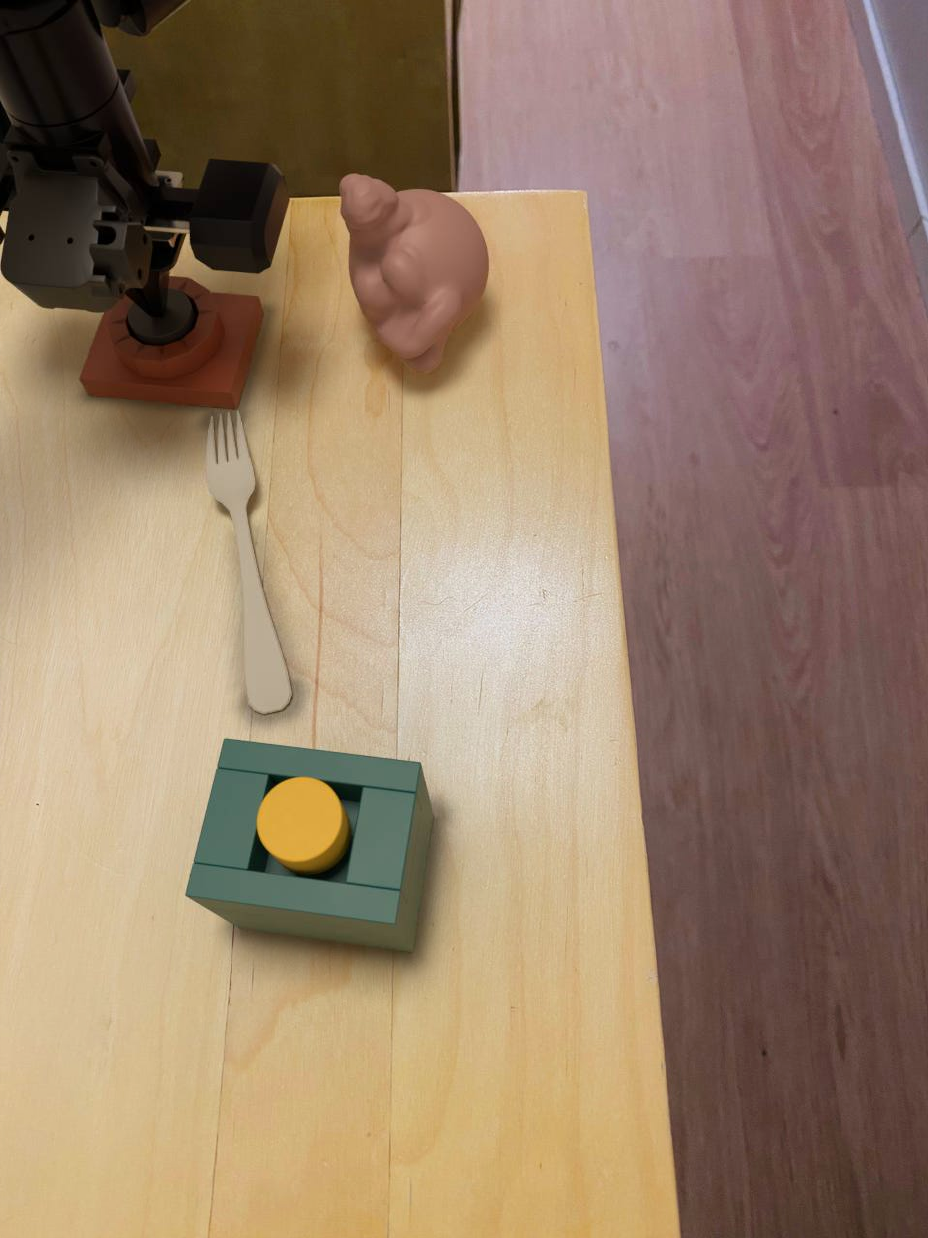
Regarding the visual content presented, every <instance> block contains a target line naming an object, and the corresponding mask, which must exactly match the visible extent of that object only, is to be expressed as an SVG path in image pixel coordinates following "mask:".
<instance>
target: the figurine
mask: <svg viewBox="0 0 928 1238" xmlns="http://www.w3.org/2000/svg"><path fill="white" fill-rule="evenodd" d="M338 193H339V197H340V200H341V201H340V210H339V212H340V213H339V214H340V216H341V218H342V219H343V221H344V224H345V227H346V230H347V232H348V233H349V240H348V251H349V252H348V274H349V280H350V283H351V287H352V289H353V293H354V296H355V298H356V301H357V303H358V305H359V308H360V310H361V313H362V315H363V317H364V319H365V320H366V321H367V324H369V326H370V327H371V329H372V331H373V332H374V334H375V335H376V337H377V338H378V340H379V341H380V342H381V343H382V344H383V345H384V346H385V347H387V349H388V350H390V351H391V352H392V353H393V354H395V355H397V356H398V358H399V359H400V360H401V361H402V363H403V364H404V365H406V367H407V368H408V369H409V370H410V371H412V372H413V373H415V374H427V373H431V372H432V371H435V370H437V368H439V366H440V365H441V363H442V360H443V357H444V349H445V346H446V344H447V341H448V339H449V337H450V334H451V333H453V332H454V331H456V330H457V329H458V328H459V327H460V326H461V325H462V324H463V323H464V322H465V321H467V320H468V318H469V317H470V316H471V315H472V314H473V312H474V311H475V309H476V308H477V307H478V305H479V304H480V303H481V300H482V298H483V295H484V293H485V291H486V288H487V284H488V279H489V272H490V258H489V250H488V245H487V242H486V239H485V236H484V233H483V231H482V229H481V227H480V226H479V224H478V222H477V220H476V218H474V216H473V215H472V214H471V212H470V211H468V209H466V208H465V206H463V205H462V204H461V203H459V202H458V201H457V200H456V199H454V198H453V197H452V196H451V197H450V196H448V195H447V194H444V193H442V192H439V191H436V190H432V189H425V188H410V189H404V190H400V191H397V192H396V190H395V189H394V187H392V186H391V185H389V184H388V183H386V182H384V180H383V181H382V180H381V179H379V178H372V177H371V176H369V175H366V174H359V173H350V174H347V175H345V176H344V177H343V178H341V180H340V182H339V187H338Z"/></svg>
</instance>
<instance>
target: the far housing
mask: <svg viewBox="0 0 928 1238" xmlns="http://www.w3.org/2000/svg"><path fill="white" fill-rule="evenodd" d="M168 288H172V289H176V290H178V291H180V292H182V293H183V294H185V295H186V296H187V297H188V299H189V300H190V303H191V305H192V308H193V310H194V313H195V315H196V318H197V321H196V324H195V327H194V329H193V330H192V331H190V332H189V333H188V334H187V335H186V336H185V337H184V338H183V339H182V340H179V341H176V342H173V343H170V344H167V345H164V346H153V345H143V344H142V343H140V342H139V341H138V340H137V338H136V336H135V334H134V332H133V330H132V328H131V326H130V323H129V320H128V312H129V309H130V307H131V305H132V303H133V301H132V300H131V299H130V298H129V297H127V296H126V295H124V298H123V299H122V300H119V299H118V301H117V303H116V305H115V306H114V307H113V308H112V309H111V310H109V311H107V312H103V313H102V316H101V318H100V322H99V324H98V326H97V329H96V332H95V335H94V337H93V340H92V342H91V345H90V347H89V351H88V353H87V356H86V358H85V361H84V364H83V366H82V369H81V372H80V374H79V378H78V380H79V381H80V383H81V385H82V387H83V388H84V390H85V392H86V393H87V396H92V397H93V396H94V397H105V398H115V399H125V400H136V401H145V402H155V403H156V402H157V403H167V404H179V405H190V406H198V407H199V406H200V407H211V408H221V409H231V410H238V407H239V403H240V400H241V396H242V393H243V390H244V386H245V382H246V379H247V375H248V371H249V369H250V365H251V361H252V357H253V353H254V351H255V347H256V344H257V340H258V336H259V333H260V329H261V327H262V323H263V318H264V316H265V313H264V309H263V306H262V303H261V299H260V296H259V295H250V294H239V293H227V292H216V291H215V292H214V291H211V290H210V289H208V288H207V287H205V286H204V285H202V284H200V283H199V282H198V281H195V280H194V279H193V278H191V277H187V276H176V275H169V286H168Z"/></svg>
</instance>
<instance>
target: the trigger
mask: <svg viewBox="0 0 928 1238" xmlns="http://www.w3.org/2000/svg"><path fill="white" fill-rule="evenodd" d="M257 831H258V835H259V838H260V840H261V842H262V844H263V846H264V847H265V848H266V849H267V850H268V851H269V852H270V853H271V854H272V856H273V857H274V858H275V859H276V860H277V861H278V862H279V863H280V864H281V865H283V866H284V867H285V868H286V869H288V870H290V871H292V872H294V873H297V874H302V875H314V874H319V873H322V872H324V871H326V870H328V869H330V868H332V867H333V866H334V865H336V864H337V863H338V862H339V861H340V860H341V859H342V857H343V856H344V854H345V853H346V851H347V849H348V846H349V844H350V840H351V823H350V820H349V817H348V814H347V812H346V811H345V809H344V807H343V805H342V803H341V802H340V800H339V798H338V796H337V795H336V793H335V792H334V791H333V790H332V788H330V787H329V786H328V785H327V784H325V783H324V782H322V781H320V780H318V779H315V778H310V777H296V778H291V779H288V780H285V781H283V782H281V783H280V784H278V785H276V786H275V787H274V788H273V789H271V791H270V792H269V793H268V794H267V795H266V796H265V798H264V799H263V801H262V803H261V805H260V807H259V810H258V814H257Z"/></svg>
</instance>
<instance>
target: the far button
mask: <svg viewBox="0 0 928 1238" xmlns="http://www.w3.org/2000/svg"><path fill="white" fill-rule="evenodd" d="M128 320H129V323H130V326H131V328H132V330H133V332H134V334H135V336H136V338H137V340H138V341H139V342H140V343H142V344H143V345H153V346H164V345H167V344H170V343H173V342H176V341H179V340H182V339H183V338H184V337H185V336H186V335H187V334H188V333H189V332H190V331H192V330H193V329H194V327H195V324H196V321H197V318H196V315H195V313H194V310H193V308H192V305H191V303H190V300H189V299H188V297H187V296H186V295H185V294H183V293H182V292H180V291H178V290H176V289H172V288H168V298H167V307H166V310H165V313H164V316H163V318H160V317H150V316H149V315H148V314H147V313H145V312H144V311H143V310H142V309H141V308H140V307H139V306H138V305H136V304H135V303H134V302H133V303H132V305H131V307H130V309H129V312H128Z"/></svg>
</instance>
